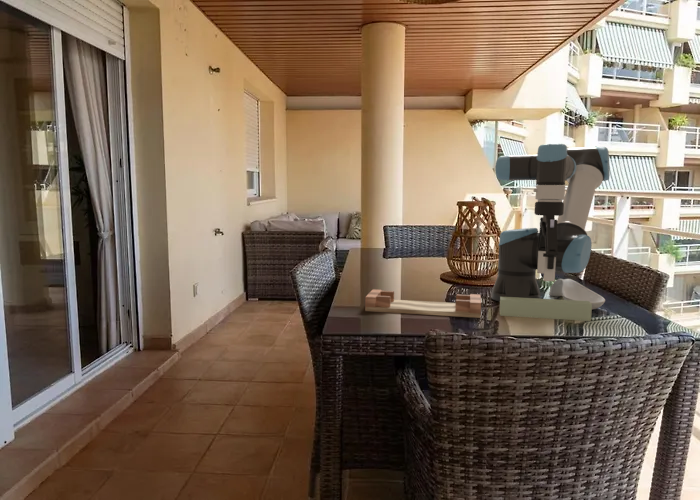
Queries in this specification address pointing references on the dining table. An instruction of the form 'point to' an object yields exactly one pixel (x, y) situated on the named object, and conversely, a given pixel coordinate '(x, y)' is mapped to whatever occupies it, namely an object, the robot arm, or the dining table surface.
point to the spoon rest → (575, 292)
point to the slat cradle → (423, 305)
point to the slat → (545, 308)
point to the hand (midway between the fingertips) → (545, 277)
